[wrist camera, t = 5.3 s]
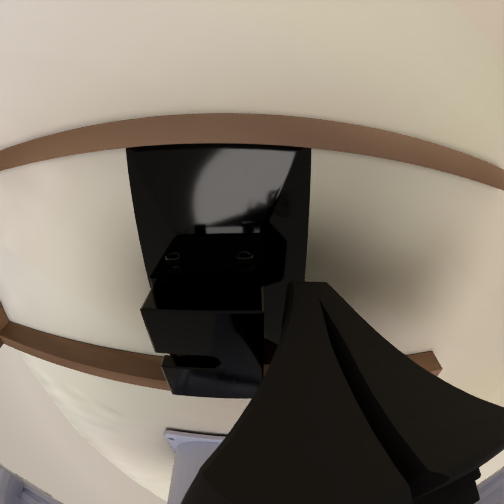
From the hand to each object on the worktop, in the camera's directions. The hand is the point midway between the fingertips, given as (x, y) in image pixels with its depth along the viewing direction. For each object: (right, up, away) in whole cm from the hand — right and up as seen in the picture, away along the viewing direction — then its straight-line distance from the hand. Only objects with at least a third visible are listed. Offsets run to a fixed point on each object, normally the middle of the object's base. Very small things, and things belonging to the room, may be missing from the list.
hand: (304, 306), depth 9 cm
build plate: (-3, +1, +2) cm, 4 cm away
